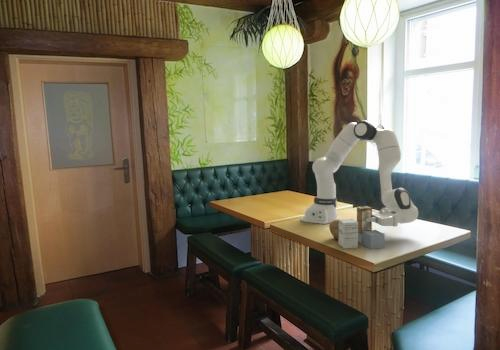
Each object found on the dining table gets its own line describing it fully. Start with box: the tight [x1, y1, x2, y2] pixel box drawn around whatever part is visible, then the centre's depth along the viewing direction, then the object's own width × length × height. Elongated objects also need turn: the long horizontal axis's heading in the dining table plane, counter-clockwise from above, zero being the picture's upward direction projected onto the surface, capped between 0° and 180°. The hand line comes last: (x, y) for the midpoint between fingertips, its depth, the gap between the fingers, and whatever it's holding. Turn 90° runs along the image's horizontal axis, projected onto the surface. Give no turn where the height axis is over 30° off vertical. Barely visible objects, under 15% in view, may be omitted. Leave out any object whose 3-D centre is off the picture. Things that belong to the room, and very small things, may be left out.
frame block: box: [356, 205, 373, 234], centre depth 191 cm, size 6×4×13 cm
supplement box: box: [338, 218, 359, 249], centre depth 184 cm, size 7×7×13 cm
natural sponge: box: [328, 219, 339, 240], centre depth 196 cm, size 9×9×10 cm
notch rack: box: [358, 229, 385, 250], centre depth 188 cm, size 7×16×6 cm, turn 13°
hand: (362, 218), depth 191 cm, fingers closed on frame block, 4 cm apart
